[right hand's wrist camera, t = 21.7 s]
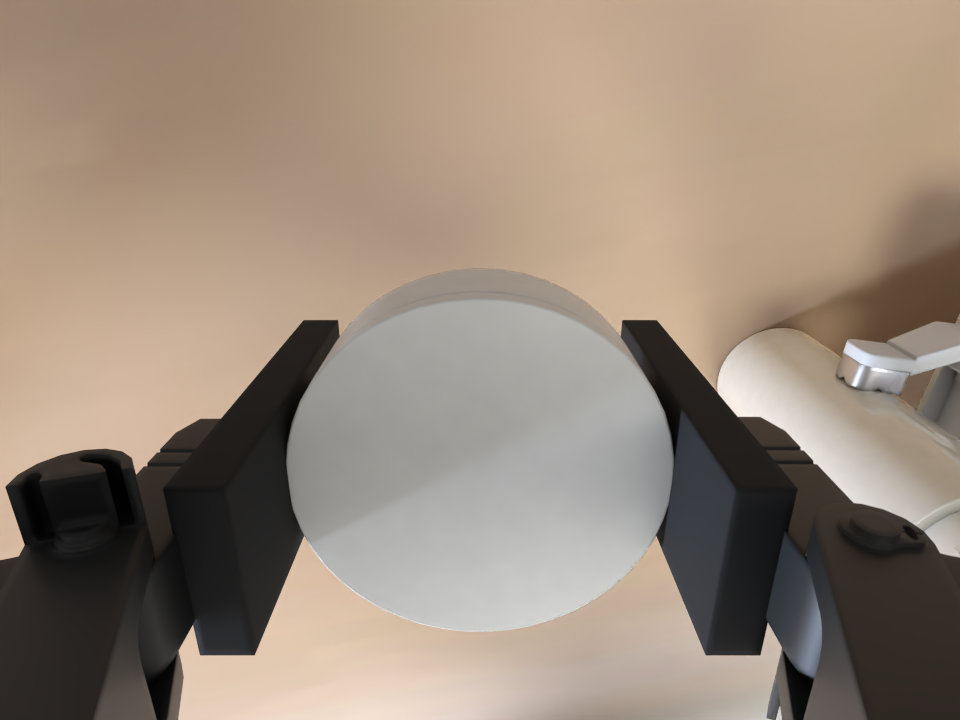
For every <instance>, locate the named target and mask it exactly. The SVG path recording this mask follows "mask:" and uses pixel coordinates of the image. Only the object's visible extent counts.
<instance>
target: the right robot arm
mask: <svg viewBox="0 0 960 720" xmlns="http://www.w3.org/2000/svg"><path fill="white" fill-rule="evenodd" d="M338 338H339V326H338V320H304V321H303V322H302V323H301V324H300V325H299V327H298V328H297V329H296V330H295V331H294V332H293V334H292V335H291V336H290V337H289V338H288V340H287V341H286V342H285V343H284V344H283V346H282V347H281V348H280V349H279V350H278V352H277V353H276V354H275V355H274V356H273V358H272V359H271V360H270V361H269V362H268V363H267V365H266V366H265V367H264V368H263V369H262V371H261V372H260V373H259V374H258V375H257V377H256V378H255V379H254V380H253V381H252V383H251V384H250V385H249V386H248V387H247V389H246V390H245V391H244V392H243V393H242V394H241V396H240V397H239V398H238V399H237V400H236V402H235V403H234V404H233V405H232V406H231V408H230V409H229V410H228V411H227V412H226V414H225V415H224V416H223V417H222V418H221V419H200V420H198V421H196V422H194V423H192V424H191V425H189V426H187V427H185V428H184V429H182V430H180V431H178V432H177V433H175V434H174V435H173V436H172V437H171V439H170V440H169V441H168V442H167V443H166V444H165V445H164V446H163V447H162V448H161V449H160V453H156V454H155V456H154V457H153V458H152V459H151V460H150V461H149V462H148V465H147V467H143V468H142V469H141V470H140V471H139V473H138V474H137V475H136V473H135V469H134V465H133V461H132V458H131V457H129V456H128V455H127V454H125V453H124V452H122V451H116V450H110V449H95V450H83V451H78V452H73V453H69V454H64V455H60V456H57V457H55V458H52V459H49V460H46V461H44V462H41V463H38V464H36V465H34V466H33V467H31V468H29V469H27V470H26V471H24V472H22V473H20V474H18V475H17V476H16V477H15V478H14V479H13V480H12V481H11V482H10V483H9V484H8V485H7V486H6V490H7V493H8V496H9V499H10V502H11V505H12V508H13V511H14V514H15V517H16V520H17V523H18V526H19V529H20V532H21V535H22V538H23V541H24V544H25V546H24V548H23V550H22V552H21V554H20V555H19V557H15V558H10V559H5V560H0V720H178V715H179V708H180V700H181V693H182V685H183V678H184V677H183V670H182V664H181V660H180V656H179V651H178V650H179V648H180V647H181V645H182V643H183V641H184V639H185V638H186V636H187V634H188V632H189V631H190V629H191V627H192V625H193V626H194V630H195V635H196V639H197V644H198V648H199V652H200V655H255V653H256V651H257V648H258V646H259V643H260V641H261V639H262V636H263V634H264V631H265V629H266V626H267V624H268V622H269V619H270V617H271V614H272V612H273V609H274V607H275V605H276V602H277V600H278V597H279V595H280V593H281V590H282V588H283V585H284V583H285V580H286V578H287V576H288V573H289V571H290V568H291V566H292V564H293V561H294V559H295V556H296V554H297V551H298V549H299V547H300V544H301V542H302V539H303V537H304V534H303V532H302V530H301V528H300V526H299V523H298V521H297V518H296V516H295V513H294V511H293V507H292V502H291V495H290V489H289V481H288V473H287V465H286V453H287V442H288V438H289V433H290V429H291V424H292V421H293V418H294V416H295V413H296V410H297V408H298V405H299V403H300V400H301V399H302V397H303V395H304V393H305V392H306V390H307V388H308V386H309V385H310V383H311V381H312V379H313V378H314V376H315V375H316V373H317V371H318V370H319V368H320V367H321V365H322V363H323V362H324V360H325V359H326V357H327V355H328V354H329V352H330V351H331V349H332V347H333V346H334V344H335V343H336V341H337V340H338ZM621 338H622V340H623V341H624V343H625V344H626V346H627V347H628V349H629V350H630V352H631V353H632V355H633V357H634V358H635V360H636V362H637V363H638V365H639V366H640V368H641V370H642V371H643V373H644V374H645V376H646V378H647V379H648V381H649V383H650V384H651V386H652V387H653V389H654V391H655V393H656V395H657V397H658V399H659V401H660V403H661V405H662V407H663V410H664V412H665V415H666V418H667V421H668V425H669V428H670V432H671V436H672V443H673V451H674V469H673V477H672V485H671V492H670V499H669V505H668V508H667V511H666V514H665V517H664V520H663V522H662V524H661V526H660V528H659V530H658V532H657V534H656V536H657V538H658V541H659V543H660V546H661V548H662V550H663V553H664V555H665V558H666V560H667V563H668V565H669V567H670V570H671V572H672V575H673V577H674V579H675V582H676V584H677V587H678V589H679V592H680V594H681V596H682V599H683V601H684V604H685V606H686V609H687V611H688V613H689V616H690V618H691V621H692V623H693V625H694V628H695V630H696V633H697V635H698V638H699V640H700V642H701V645H702V647H703V650H704V652H705V654H706V655H760V654H761V650H762V645H763V641H764V637H765V632H766V628H767V623H769V625H770V626H771V628H772V630H773V632H774V634H775V635H776V637H777V639H778V641H779V643H780V644H781V646H782V651H781V656H780V660H779V664H778V668H777V672H776V676H775V680H774V685H773V689H772V693H771V697H770V701H769V706H768V712H767V718H768V719H772V720H776V717H777V713H778V709H779V706H781V713H782V720H960V557H955V556H950V555H945V554H941V553H940V552H939V550H938V549H937V547H936V545H935V544H934V542H933V541H932V540H931V539H930V538H929V537H928V535H927V534H926V533H925V532H924V531H923V530H921V529H920V528H918V527H917V526H915V525H914V524H913V523H911V522H910V521H908V520H907V519H905V518H902V517H900V516H898V515H895V514H893V513H891V512H889V511H886V510H884V509H880V508H876V507H872V506H868V505H864V504H859V503H853V502H852V501H851V500H850V499H849V498H848V496H847V495H846V494H845V493H844V492H843V491H842V490H841V489H840V488H839V487H838V486H837V485H836V484H835V483H834V482H833V481H832V480H831V479H830V478H829V476H828V475H827V474H826V473H825V472H824V471H823V470H822V469H821V468H820V467H819V466H818V465H817V464H814V463H813V460H812V459H811V458H810V456H809V455H808V454H807V453H806V452H805V451H804V450H801V449H800V448H801V447H800V446H799V445H798V444H797V443H796V442H795V441H794V440H793V439H792V438H791V436H790V435H789V434H788V433H787V432H786V431H785V430H783V429H781V428H779V427H777V426H776V425H774V424H772V423H770V422H769V421H767V420H765V419H763V418H761V417H737V415H736V414H735V413H734V412H733V411H732V409H731V408H730V407H729V406H728V405H727V403H726V402H725V401H724V400H723V399H722V398H721V396H720V395H719V394H718V393H717V392H716V390H715V389H714V388H713V387H712V386H711V384H710V383H709V382H708V381H707V380H706V378H705V377H704V376H703V375H702V374H701V372H700V371H699V370H698V369H697V368H696V367H695V365H694V364H693V363H692V362H691V361H690V359H689V358H688V357H687V356H686V355H685V353H684V352H683V351H682V350H681V349H680V347H679V346H678V345H677V344H676V343H675V342H674V340H673V339H672V338H671V337H670V336H669V334H668V333H667V332H666V331H665V330H664V328H663V327H662V326H661V325H660V324H659V322H658V321H657V320H622V330H621Z"/></svg>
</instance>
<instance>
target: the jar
mask: <svg viewBox="0 0 960 720" xmlns="http://www.w3.org/2000/svg"><path fill="white" fill-rule="evenodd" d="M840 360H841V357H840V356H839V355H837V354H836V353H834V352H833V351H832V350H830V349H829V348H827V347H826V346H824V345H823V344H822V343H820V342H819V341H817V340H816V339H814V338H813V337H811V336H810V335H808V334H807V333H804V332H802V331H800V330H796V329H791V328H774V329H768V330H764V331H761V332H758V333H756V334H754V335H752V336H750V337H748V338H747V339H745V340H743V341H742V342H741V343H740V344H738V345H737V346H736V347H735V348H734V349H733V350H732V351H731V352H730V354H729V355H728V356H727V358H726V359H725V361H724V363H723V365H722V367H721V369H720V373H719V376H718V383H717V390H718V394H719V395H720V396H721V398H722V399H723V400H724V401H725V402H726V403H727V405H728V406H729V407H730V408H731V409H732V411H733V412H734V413H735V414H736V415H737V417H761V418H763V419H765V420H767V421H769V422H770V423H772V424H774V425H776V426H777V427H779V428H781V429H783V430H785V431H786V432H787V433H788V434H789V435H790V436H791V438H792V439H793V440H794V441H795V442H796V443H797V444H798V445H799V446H800V447H801V448H800V449H801V450H804V451H805V452H806V453H807V454H808V455H809V456H810V458H811V459H812V460H813V463H814V464H817V465H818V466H819V467H820V468H821V469H822V470H823V471H824V472H825V473H826V474H827V475H828V476H829V478H830V479H831V480H832V481H833V482H834V483H835V484H836V485H837V486H838V487H839V488H840V489H841V490H842V491H843V492H844V493H845V494H846V495H847V496H848V498H849V499H850V500H851V501H852V502H853V503H859V504H864V505H868V506H872V507H876V508H880V509H884V510H886V511H889V512H891V513H893V514H895V515H898V516H900V517H902V518H905V519H907V520H908V521H910V522H911V523H913V524H914V525H915V526H917V527H918V528H920V529H921V530H923V531H924V532H925V533H926V534H927V535H928V537H929V538H930V539H931V540H932V541H933V542H934V544H935V545H936V547H937V549H938V550H939V552H940V553H941V554H945V555H950V556H955V557H960V440H959V439H958V438H957V437H955V436H954V435H952V434H951V433H949V432H948V431H946V430H945V429H944V428H942V427H941V426H939V425H938V424H936V423H935V422H934V421H932V420H931V419H929V418H928V417H926V416H925V415H923V414H922V413H921V412H919V411H918V410H916V409H915V408H913V407H912V406H911V405H909V404H908V403H906V402H905V401H903V400H902V399H901V398H899V397H898V396H896V395H895V394H887V393H883V392H881V391H880V390H879V389H877V390H875V391H863V390H860V389H856V388H854V387H852V386H850V385H848V384H847V383H846V382H845V379H844V378H839V377H838V376H837V375H835V373H836V370H837V368H838V365H839V362H840Z"/></svg>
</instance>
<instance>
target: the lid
mask: <svg viewBox="0 0 960 720" xmlns="http://www.w3.org/2000/svg"><path fill="white" fill-rule="evenodd" d="M286 465H287V473H288V481H289V489H290V495H291V502H292V507H293V511H294V513H295V516H296V518H297V521H298V523H299V526H300V528H301V530H302V532H303V534H304V536H305V537H306V539H307V541H308V542H309V544H310V546H311V548H312V549H313V551H314V552H315V553H316V554H317V556H318V557H319V558H320V560H321V561H322V562H323V563H324V565H325V566H326V567H327V568H328V569H329V570H330V571H331V572H332V573H333V574H334V575H335V576H336V577H337V578H338V579H339V580H340V581H341V582H342V583H344V584H345V585H346V586H348V587H349V588H350V589H351V590H353V591H354V592H355V593H356V594H358V595H359V596H361V597H363V598H364V599H366V600H367V601H369V602H371V603H372V604H374V605H376V606H377V607H379V608H382V609H384V610H386V611H388V612H390V613H392V614H394V615H396V616H399V617H402V618H405V619H408V620H411V621H414V622H416V623H420V624H424V625H428V626H433V627H437V628H442V629H450V630H457V631H474V632H489V631H503V630H512V629H517V628H523V627H529V626H533V625H536V624H540V623H543V622H547V621H550V620H553V619H556V618H558V617H561V616H563V615H566V614H568V613H571V612H573V611H575V610H577V609H579V608H581V607H582V606H584V605H586V604H588V603H590V602H592V601H593V600H595V599H596V598H598V597H599V596H601V595H602V594H604V593H605V592H607V591H608V590H609V589H611V588H612V587H613V586H614V585H615V584H616V583H618V582H619V581H620V580H621V579H622V578H623V577H624V576H626V575H627V574H628V572H629V571H630V570H631V569H632V568H633V567H634V566H635V565H636V564H637V562H638V561H639V560H640V559H641V558H642V556H643V555H644V553H645V552H646V551H647V549H648V548H649V546H650V545H651V543H652V542H653V540H654V538H655V536H656V534H657V532H658V530H659V528H660V526H661V524H662V522H663V520H664V517H665V514H666V511H667V508H668V505H669V499H670V492H671V485H672V477H673V469H674V451H673V443H672V436H671V432H670V428H669V425H668V421H667V418H666V415H665V412H664V410H663V407H662V405H661V403H660V401H659V399H658V397H657V395H656V393H655V391H654V389H653V387H652V386H651V384H650V383H649V381H648V379H647V378H646V376H645V374H644V373H643V371H642V370H641V368H640V366H639V365H638V363H637V362H636V360H635V358H634V357H633V355H632V353H631V352H630V350H629V349H628V347H627V346H626V344H625V343H624V341H623V340H622V338H621V337H620V335H619V334H618V332H617V331H616V330H615V329H614V328H613V327H612V326H611V325H610V323H609V322H608V321H607V320H606V319H605V318H604V317H603V316H602V315H601V314H600V313H599V312H597V311H596V310H595V309H594V308H593V307H591V306H590V305H589V304H588V303H587V302H585V301H584V300H582V299H581V298H579V297H577V296H576V295H574V294H573V293H571V292H569V291H568V290H566V289H564V288H562V287H560V286H557V285H555V284H553V283H551V282H549V281H546V280H544V279H540V278H537V277H534V276H530V275H527V274H524V273H519V272H513V271H507V270H501V269H479V268H473V269H462V270H451V271H447V272H442V273H438V274H433V275H429V276H426V277H423V278H420V279H417V280H415V281H412V282H409V283H407V284H404V285H402V286H400V287H399V288H397V289H395V290H393V291H391V292H389V293H387V294H385V295H384V296H382V297H381V298H380V299H378V300H377V301H375V302H374V303H373V304H371V305H370V306H368V307H367V308H366V309H365V310H364V311H363V312H362V313H361V314H360V315H358V316H357V317H356V318H355V319H354V320H353V321H352V322H351V323H350V324H349V326H348V327H347V328H346V329H345V331H344V332H343V333H342V334H341V336H340V337H339V338H338V340H337V341H336V343H335V344H334V346H333V347H332V349H331V351H330V352H329V354H328V355H327V357H326V359H325V360H324V362H323V363H322V365H321V367H320V368H319V370H318V371H317V373H316V375H315V376H314V378H313V379H312V381H311V383H310V385H309V386H308V388H307V390H306V392H305V393H304V395H303V397H302V399H301V400H300V403H299V405H298V408H297V410H296V413H295V416H294V418H293V421H292V424H291V429H290V433H289V438H288V442H287V453H286Z"/></svg>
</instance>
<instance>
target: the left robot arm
mask: <svg viewBox="0 0 960 720" xmlns="http://www.w3.org/2000/svg"><path fill="white" fill-rule="evenodd" d="M932 369H935V370H934V372H933V375H932V377H931V379H930V381H929V383H928V386H927V388H926V390H925V392H924V395H923V397H922V399H921V401H920V404H919V406H918V408H917V410H918V411H919V412H921V413H922V414H923V415H925V416H926V417H928V418H929V419H931V420H932V421H934V422H935V423H936V424H938V425H939V426H941V427H942V428H944V429H945V430H946V431H948V432H949V433H951V434H952V435H954V436H955V437H957V438H958V439H959V440H960V314H959V316H958V318H957V321H956V323H947V322H939V321H935V322H932V323H930V324H927V325H925V326H922V327H920V328H917V329H915V330H912V331H910V332H907V333H905V334H902V335H900V336H897V337H895V338H892V339H890V340H888V341H887V343H882V342H874V341H866V340H858V339H848V341H847V343H846V346H845V348H844V351H843V354H842V357H841V360H840V362H839V365H838V368H837V370H836V373H835V375H837V376H838V377H839V378H844V379H845V382H846V383H847V384H848V385H850V386H852V387H854V388H856V389H860V390H863V391H875V390H877V389H879V390H880V391H881V392H883V393H887V394H895V395H900V394H901V392H902V390H903V387H904V385H905V383H906V381H907V379H908V377H909V376H913V375H916V374H919V373H922V372H926V371H929V370H932Z"/></svg>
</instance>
